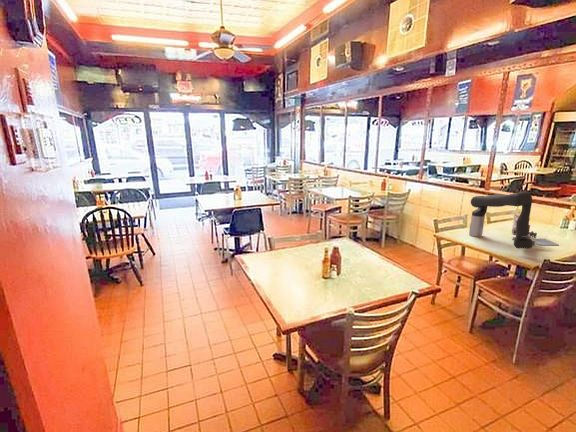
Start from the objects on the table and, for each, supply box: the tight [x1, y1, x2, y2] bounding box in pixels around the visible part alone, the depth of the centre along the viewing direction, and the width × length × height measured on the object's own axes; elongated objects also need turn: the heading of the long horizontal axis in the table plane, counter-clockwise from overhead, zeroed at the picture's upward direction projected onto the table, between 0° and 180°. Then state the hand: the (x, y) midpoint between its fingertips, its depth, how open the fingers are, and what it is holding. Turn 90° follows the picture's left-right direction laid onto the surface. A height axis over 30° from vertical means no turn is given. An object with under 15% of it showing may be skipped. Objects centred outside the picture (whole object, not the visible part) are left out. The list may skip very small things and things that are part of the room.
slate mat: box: [531, 238, 559, 246], centre depth 239 cm, size 14×14×1 cm
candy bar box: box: [511, 213, 531, 234], centre depth 255 cm, size 11×5×16 cm, turn 179°
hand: (524, 231), depth 239 cm, fingers open, 8 cm apart
